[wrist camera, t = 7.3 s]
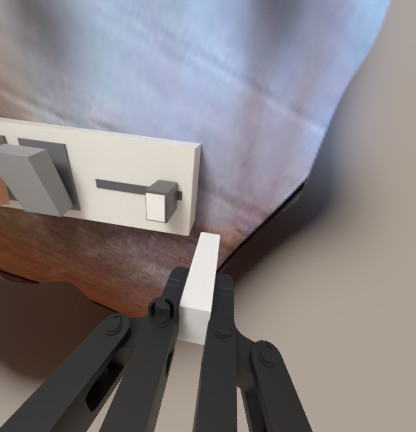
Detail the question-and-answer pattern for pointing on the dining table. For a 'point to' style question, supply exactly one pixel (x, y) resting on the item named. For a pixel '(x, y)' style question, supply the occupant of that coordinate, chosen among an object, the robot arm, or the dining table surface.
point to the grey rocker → (33, 180)
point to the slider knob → (161, 201)
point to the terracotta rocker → (3, 193)
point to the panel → (113, 172)
